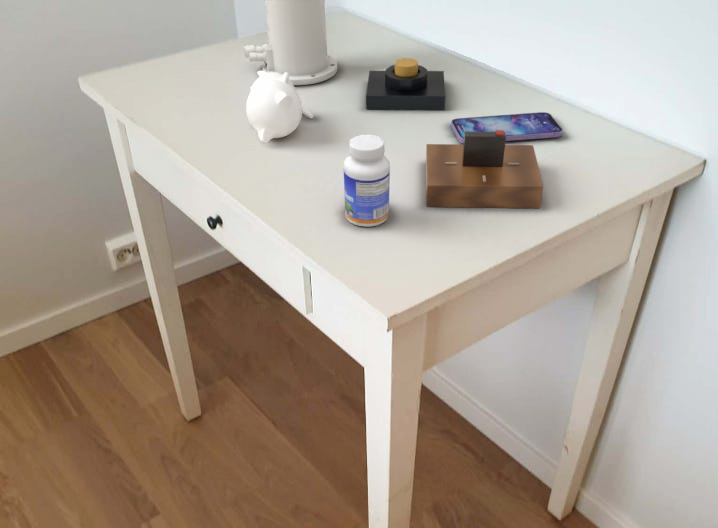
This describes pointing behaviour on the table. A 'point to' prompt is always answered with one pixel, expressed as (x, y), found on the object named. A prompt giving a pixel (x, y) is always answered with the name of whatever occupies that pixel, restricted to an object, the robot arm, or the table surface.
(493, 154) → the lock knob
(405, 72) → the bell button
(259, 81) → the cat figurine
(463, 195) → the plate
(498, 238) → the table surface
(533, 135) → the smartphone
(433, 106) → the black stepped base
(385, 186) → the pill bottle
